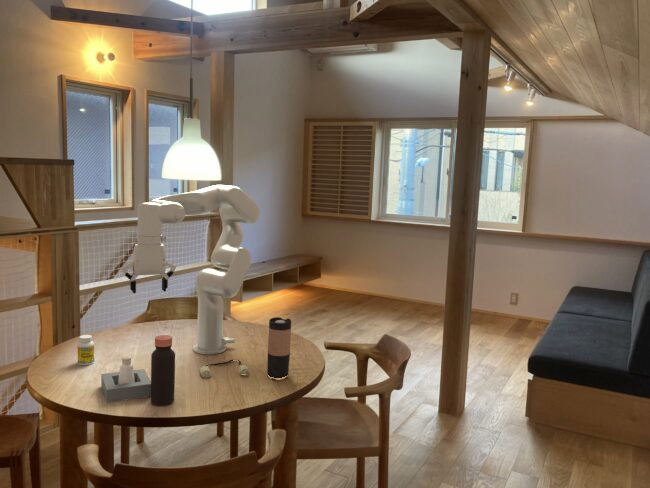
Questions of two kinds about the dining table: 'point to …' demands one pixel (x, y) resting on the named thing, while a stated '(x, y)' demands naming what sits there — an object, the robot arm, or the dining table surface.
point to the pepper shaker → (126, 371)
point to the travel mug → (278, 347)
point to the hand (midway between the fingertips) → (149, 291)
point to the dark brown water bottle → (162, 371)
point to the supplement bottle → (85, 350)
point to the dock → (125, 386)
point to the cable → (206, 372)
